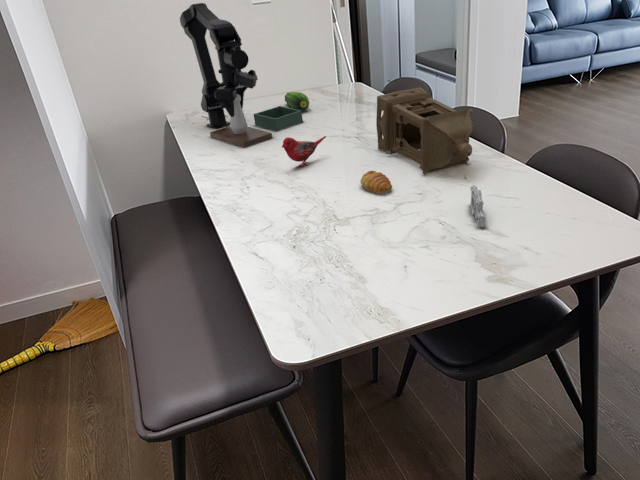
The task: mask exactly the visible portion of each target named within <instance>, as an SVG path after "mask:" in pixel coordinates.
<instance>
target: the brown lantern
mask: <svg viewBox="0 0 640 480" xmlns="http://www.w3.org/2000/svg"><path fill="white" fill-rule="evenodd" d="M473 112H474V109H473V108H466V109H460V110H456V109H454V108H452V107H450V106H448V105H446V104H444V103H442V102H441V101H438V100H437V99H434V98H433V96H432V95H431V94H428V92H427V90H425V89H423V88H422V87H421V86H420V87H416V88H411V89H405V90H397V91H393V92H389V93H384V94H380V95H377V97H376V121H375V123H376V126H375V127H376V136H377V150H379V151H380V150H381V151H384V152H388V151H389V152H390V153H389V154H390V155H394V154H398V155H400V156H403V157H404V158H407V159H408V160H411V161H412V162H415V163H417V164H419V169H420V170H421V171H422V175H425V176H427V175H428V174H430V173H434V172H438V171H442V170H446V169H450V168H453V167H456V166H460V165H464V164H466V165H467V164H468V162H469V160H470V158H469V157H470V156H471V155H472V153H473V147H472V145H471V143H470V138H471V135H472V132H473V131H474V124H473V121H472V120H473V118H472V116H471V115H472V113H473Z"/></svg>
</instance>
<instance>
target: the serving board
mask: <svg viewBox="0 0 640 480" xmlns="http://www.w3.org/2000/svg"><path fill="white" fill-rule="evenodd" d="M209 135H210V138H211V139H215V140H217V141H218V140H219V141H220V142H224V143H228V144H230V145H234V146H238V147H239V148H240V147H241V148H244V149H245V148H249V147H251V146H254V145H257V144H260V143H263V142H266V141H268V140H272V139H273V134H272V132H270V131H266V130H262V129H259V128H255V127H251V126H248V125H247V129H246V132H245V133H243V134H235V133H234V132H233V131H232V129H231V127H230V125H228V126H226V127H225V126H224V127H221V128H218V129H215V130H213V131H210V132H209Z"/></svg>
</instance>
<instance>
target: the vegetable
mask: <svg viewBox="0 0 640 480" xmlns="http://www.w3.org/2000/svg"><path fill="white" fill-rule="evenodd" d="M284 102H285V103H286V104H287V105H289V106H290V108H291V109H296V110H300V111H302V112H306V111H307V109H309V106H310V99H309V97H308V96H307V95H306V94H305V93H303V92H301V91H289V92H286V94H285V95H284Z"/></svg>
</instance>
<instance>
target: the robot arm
mask: <svg viewBox="0 0 640 480" xmlns="http://www.w3.org/2000/svg"><path fill="white" fill-rule="evenodd" d="M179 23H180V25H181V28H183V31H184V34H185V35H186V36H187V37H188V38H189V39H190V40H191V42H192V46H193V50H194V53H195V56H196V61H197V63H198V67H199V70H200V75H201V77H202V81H203V86H202V89H201V94H202V97H201V101H200V107H201V110H202V111H203V112H205V113H207V116H208V120H209V123H207V124H206V127H209V128H212V129H221V128H224V127H225V126H226V127H227V126H230V122H228V121H227V118H226V114H225V110H226V112H227V114H228V115H229V116H231V117H234V100H235V98H236V97H237V96H236V94H239V95H240V97H241V101H240V105H241V107H242V110H243V108H244V98H245V92H246V91H247V89H250V90H251V89H254V88H255V87H256V85H257V81H258V75H257V73H256V70H255V69H249V70H248V72H247V71H243V70H244V69H245V68H247V66H248V64H249V56H248V54H247V52H246V51H245V50H243V49H242V48H241V46H242V45H243V43H242V38H241V37H240V35H239V33H238V31H237V28H236V27H235V26H234V25H233V23H232V22H230V21H228V20H226V19H221V18H219V17H218V16H217V15H216V14H215V13H214V12H213V11H212V10H210V9H209V7H208V6H207V4H206V3H204V2H197V3H192V4H191V5H189V7H187V9H185V10H184V11H182V13H181V14H180V17H179ZM207 32H209V33H208V34H209V38H210V39H211V41H212V43H213V44H214V49H215V50H216V52H217V53H216V54H217V59H218V65H219V69H218V70H217V71H218V74H220V75H221V80H222V82H219V80H218V79H217V75H216V72H215V68H214V65H213V61H212V57H211V53H210V51H209V46H208V42H207V40H206V34H207Z"/></svg>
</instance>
